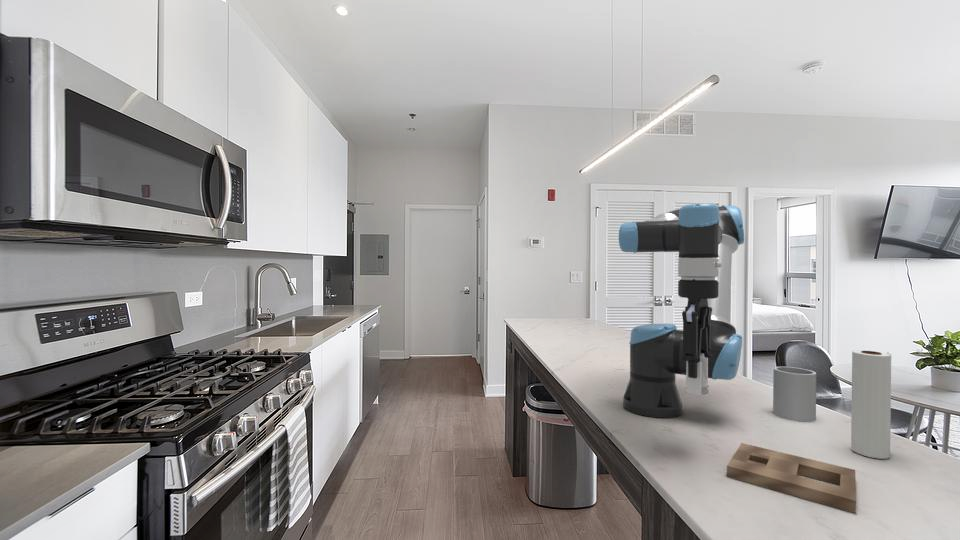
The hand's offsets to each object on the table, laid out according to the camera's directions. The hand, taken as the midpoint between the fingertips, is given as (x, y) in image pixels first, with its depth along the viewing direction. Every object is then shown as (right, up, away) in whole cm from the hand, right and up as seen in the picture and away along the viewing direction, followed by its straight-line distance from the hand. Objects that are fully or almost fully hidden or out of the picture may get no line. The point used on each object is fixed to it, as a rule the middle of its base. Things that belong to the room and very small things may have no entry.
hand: (697, 390), depth 89 cm
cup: (+38, -14, +24) cm, 47 cm away
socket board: (+12, -13, -11) cm, 21 cm away
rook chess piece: (0, -1, 0) cm, 1 cm away
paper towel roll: (+37, -14, 0) cm, 40 cm away
